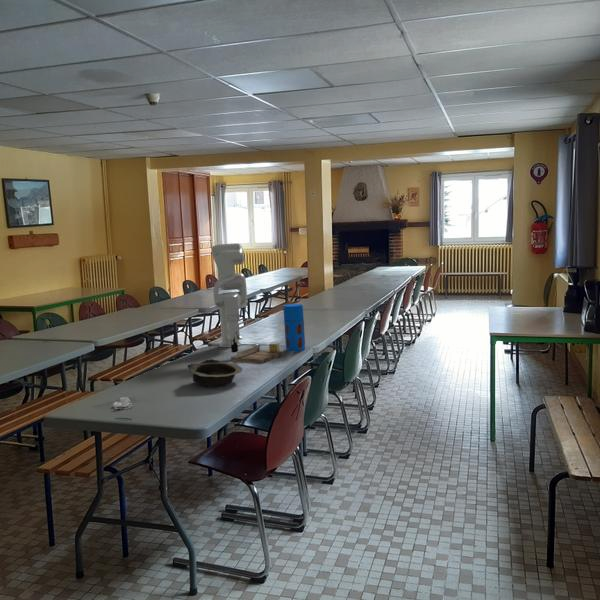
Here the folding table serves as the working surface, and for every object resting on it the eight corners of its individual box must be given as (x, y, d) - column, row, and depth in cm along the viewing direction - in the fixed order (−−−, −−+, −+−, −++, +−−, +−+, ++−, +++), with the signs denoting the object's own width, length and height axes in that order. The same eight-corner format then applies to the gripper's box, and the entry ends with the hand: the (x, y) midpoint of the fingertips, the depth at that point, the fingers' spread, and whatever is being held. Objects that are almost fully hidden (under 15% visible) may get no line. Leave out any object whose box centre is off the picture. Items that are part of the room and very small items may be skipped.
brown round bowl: (182, 380, 275) (182, 360, 274) (234, 376, 284) (234, 357, 283) (192, 392, 252) (192, 371, 251) (249, 388, 261) (249, 367, 260)
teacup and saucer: (110, 408, 239) (109, 398, 239) (128, 403, 245) (127, 393, 244) (120, 412, 233) (119, 402, 233) (138, 407, 239) (137, 397, 238)
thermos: (306, 347, 334) (303, 303, 331) (304, 351, 324) (302, 306, 321) (287, 347, 336) (284, 304, 332) (284, 351, 325) (282, 306, 322)
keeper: (271, 350, 321) (271, 343, 320) (279, 351, 318) (279, 343, 318) (269, 351, 319) (269, 344, 318) (277, 351, 316) (277, 344, 316)
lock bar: (255, 349, 324) (255, 343, 323) (260, 350, 322) (260, 343, 321) (236, 356, 309) (236, 349, 308) (242, 357, 307) (241, 350, 307)
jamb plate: (253, 352, 327) (253, 349, 327) (283, 355, 317) (283, 351, 317) (231, 360, 310) (231, 357, 310) (263, 363, 300) (262, 359, 300)
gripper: (222, 317, 320) (224, 350, 322) (229, 320, 306) (231, 355, 308) (235, 315, 323) (237, 348, 325) (243, 319, 309) (245, 353, 311)
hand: (234, 351), depth 317 cm, fingers closed
